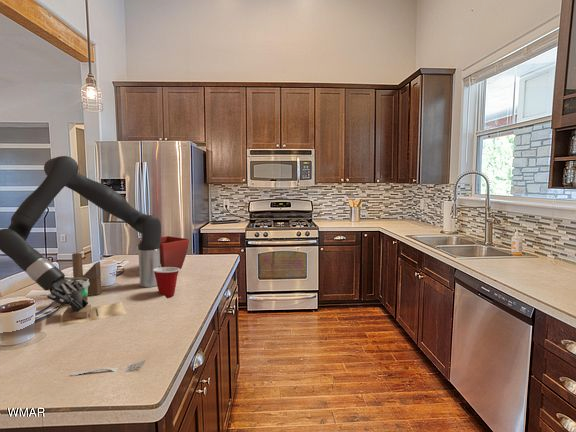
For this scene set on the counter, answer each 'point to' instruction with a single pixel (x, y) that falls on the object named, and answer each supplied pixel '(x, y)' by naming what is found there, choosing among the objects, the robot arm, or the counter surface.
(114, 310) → the oak board
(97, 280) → the wooden block
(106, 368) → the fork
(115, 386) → the counter surface
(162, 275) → the plastic cup
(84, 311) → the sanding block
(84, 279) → the food container
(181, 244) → the plant pot
